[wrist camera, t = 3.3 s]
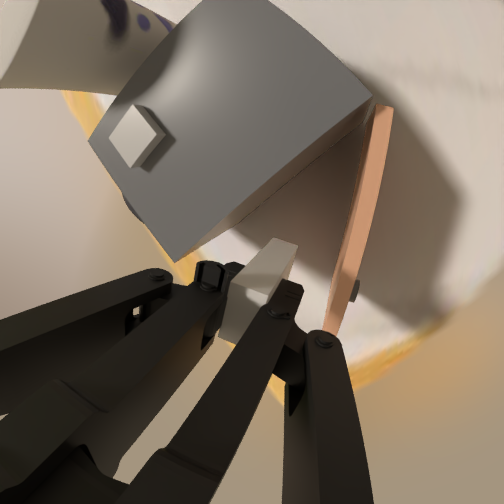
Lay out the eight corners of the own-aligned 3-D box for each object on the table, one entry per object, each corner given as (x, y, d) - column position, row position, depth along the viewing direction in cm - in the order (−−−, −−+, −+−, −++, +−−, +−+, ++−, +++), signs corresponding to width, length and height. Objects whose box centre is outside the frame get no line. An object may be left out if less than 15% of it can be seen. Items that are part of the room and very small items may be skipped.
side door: (366, 123, 22) (376, 103, 13) (387, 129, 22) (410, 112, 13) (331, 279, 28) (320, 337, 19) (351, 284, 27) (348, 344, 18)
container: (210, 51, 25) (57, -20, 7) (151, 116, 30) (-11, 114, 12) (163, 12, 25) (31, -42, 7) (113, 71, 29) (-24, 57, 11)
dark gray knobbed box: (277, 36, 23) (225, -31, 11) (362, 122, 23) (374, 91, 12) (156, 155, 31) (65, 165, 19) (221, 237, 31) (147, 286, 20)
